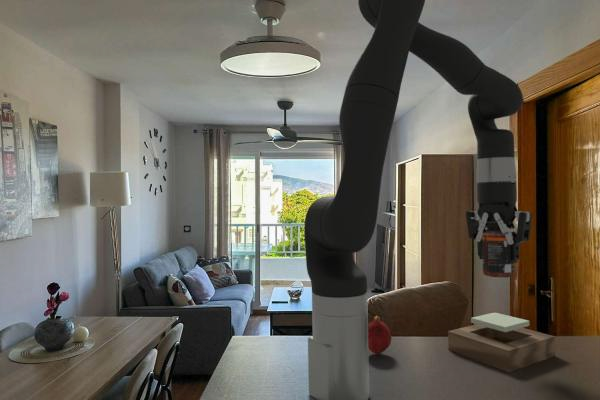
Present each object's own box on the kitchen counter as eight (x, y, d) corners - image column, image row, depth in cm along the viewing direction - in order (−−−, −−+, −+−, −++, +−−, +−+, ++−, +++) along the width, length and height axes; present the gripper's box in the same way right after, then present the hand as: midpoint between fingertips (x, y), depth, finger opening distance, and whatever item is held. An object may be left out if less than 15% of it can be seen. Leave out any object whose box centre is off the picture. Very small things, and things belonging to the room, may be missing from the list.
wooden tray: (509, 372, 78) (508, 350, 78) (448, 349, 90) (448, 331, 90) (555, 356, 85) (554, 336, 85) (493, 337, 97) (493, 320, 97)
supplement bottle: (518, 278, 84) (517, 222, 84) (486, 278, 85) (485, 222, 85) (509, 273, 90) (508, 220, 90) (480, 273, 91) (478, 220, 91)
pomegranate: (392, 360, 85) (391, 320, 85) (363, 359, 86) (362, 320, 86) (390, 350, 90) (390, 313, 90) (363, 349, 91) (362, 312, 91)
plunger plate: (505, 332, 82) (505, 327, 82) (471, 322, 89) (470, 317, 89) (529, 325, 86) (529, 320, 86) (494, 316, 93) (494, 312, 93)
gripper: (455, 182, 92) (457, 258, 92) (517, 178, 80) (519, 267, 80) (478, 182, 96) (479, 256, 96) (540, 178, 83) (542, 263, 83)
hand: (498, 260), depth 88 cm, fingers closed on supplement bottle, 6 cm apart
